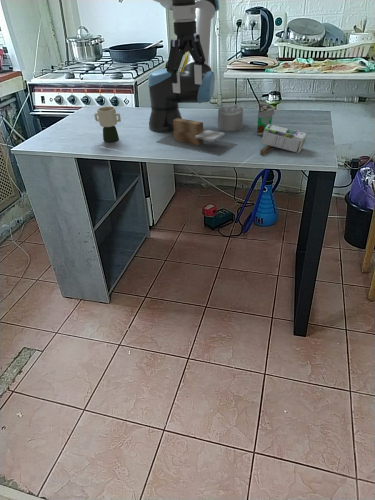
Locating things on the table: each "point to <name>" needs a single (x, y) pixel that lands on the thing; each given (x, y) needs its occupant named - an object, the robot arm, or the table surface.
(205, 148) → the tool mat
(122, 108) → the table surface
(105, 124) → the trophy cup
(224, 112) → the grey rounded piece
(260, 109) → the food container
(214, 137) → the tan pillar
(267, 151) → the bar
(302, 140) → the syrup box
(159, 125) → the robot arm
